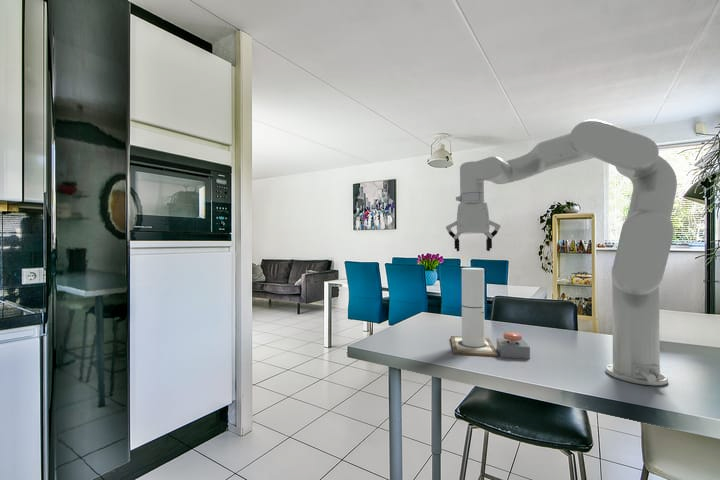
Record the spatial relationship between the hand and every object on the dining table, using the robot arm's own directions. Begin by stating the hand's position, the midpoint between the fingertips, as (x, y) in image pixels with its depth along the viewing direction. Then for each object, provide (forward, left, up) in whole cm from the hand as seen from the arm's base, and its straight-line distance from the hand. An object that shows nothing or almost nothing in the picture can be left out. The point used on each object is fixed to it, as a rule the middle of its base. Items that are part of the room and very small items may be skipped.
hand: (473, 250), depth 115 cm
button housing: (-5, -11, -32) cm, 34 cm away
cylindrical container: (0, 0, -31) cm, 31 cm away
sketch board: (0, 0, -32) cm, 32 cm away
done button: (-5, -11, -29) cm, 32 cm away
